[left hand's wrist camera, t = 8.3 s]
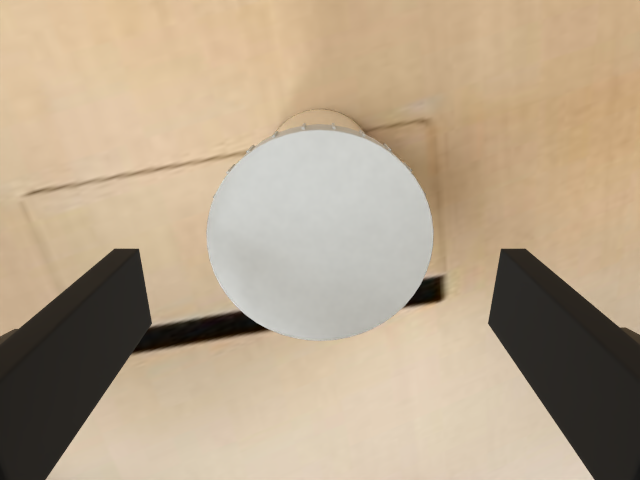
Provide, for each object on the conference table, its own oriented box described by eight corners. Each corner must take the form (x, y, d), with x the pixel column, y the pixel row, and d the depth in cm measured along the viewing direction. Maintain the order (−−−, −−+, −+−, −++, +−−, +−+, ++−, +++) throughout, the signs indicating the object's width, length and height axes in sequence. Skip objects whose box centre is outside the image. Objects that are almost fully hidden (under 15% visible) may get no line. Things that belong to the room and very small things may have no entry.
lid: (192, 138, 17) (177, 146, 15) (418, 106, 16) (430, 110, 15) (239, 328, 20) (231, 353, 18) (428, 306, 20) (439, 328, 18)
